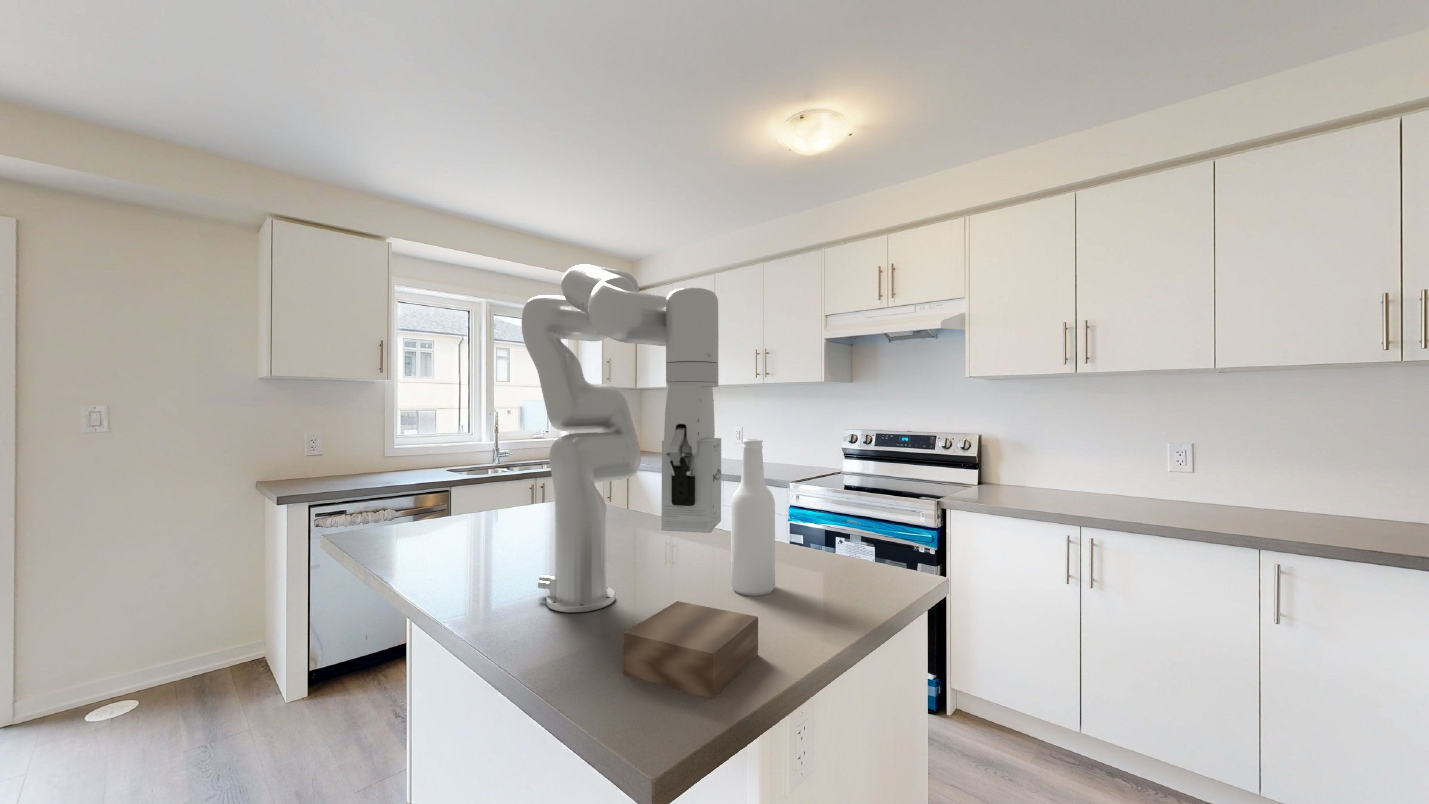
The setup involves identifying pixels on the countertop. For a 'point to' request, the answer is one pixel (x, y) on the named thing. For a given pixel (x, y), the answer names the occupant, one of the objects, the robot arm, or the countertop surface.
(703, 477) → the supplement box
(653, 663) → the walnut block
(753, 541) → the white bottle
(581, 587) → the robot arm
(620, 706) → the countertop surface
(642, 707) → the countertop surface
